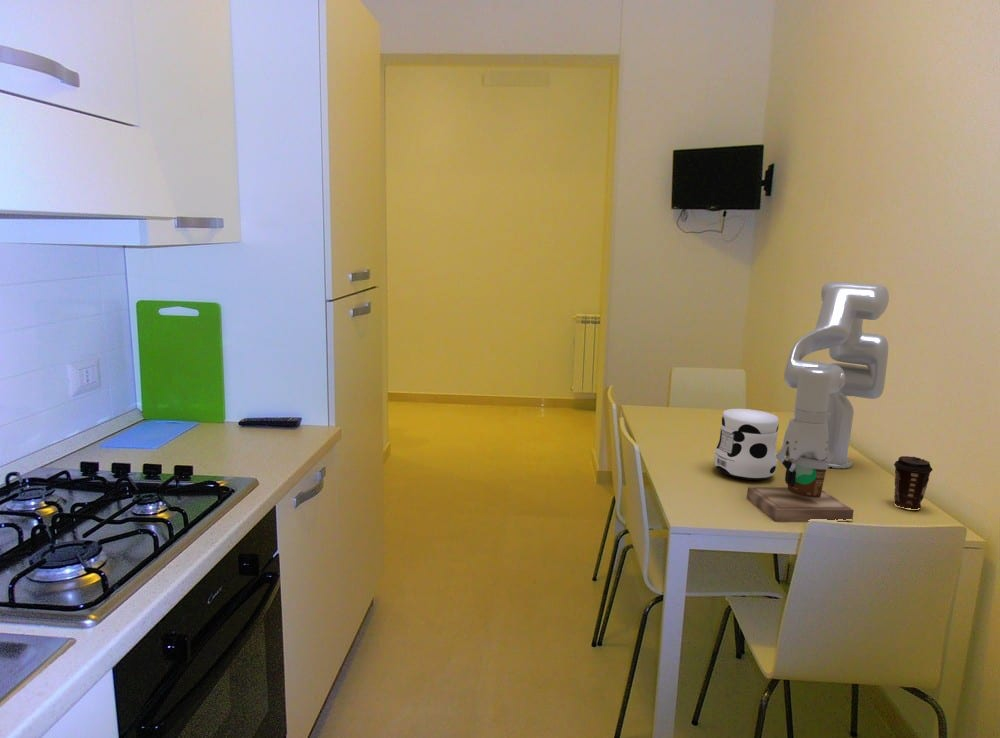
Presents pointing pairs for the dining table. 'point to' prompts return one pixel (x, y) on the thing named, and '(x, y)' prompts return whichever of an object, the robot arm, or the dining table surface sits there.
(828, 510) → the board
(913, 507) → the coffee cup
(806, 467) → the food container
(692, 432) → the dining table surface
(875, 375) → the robot arm
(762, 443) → the milk container
